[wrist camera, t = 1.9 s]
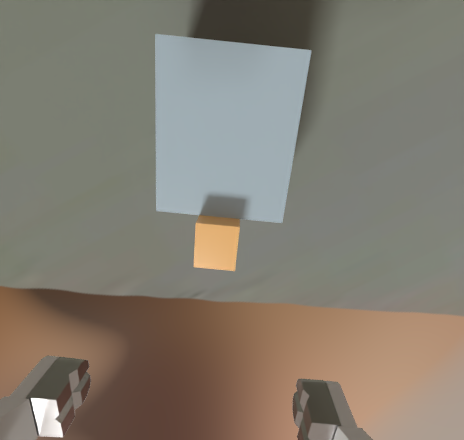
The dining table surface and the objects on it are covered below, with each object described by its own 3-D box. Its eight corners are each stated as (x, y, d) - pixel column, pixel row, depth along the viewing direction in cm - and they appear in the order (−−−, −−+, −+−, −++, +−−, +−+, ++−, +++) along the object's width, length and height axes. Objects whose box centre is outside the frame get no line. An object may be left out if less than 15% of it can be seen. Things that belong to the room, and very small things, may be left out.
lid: (162, 42, 20) (145, 22, 16) (304, 57, 20) (320, 40, 16) (162, 243, 25) (149, 263, 22) (272, 253, 26) (278, 274, 22)
